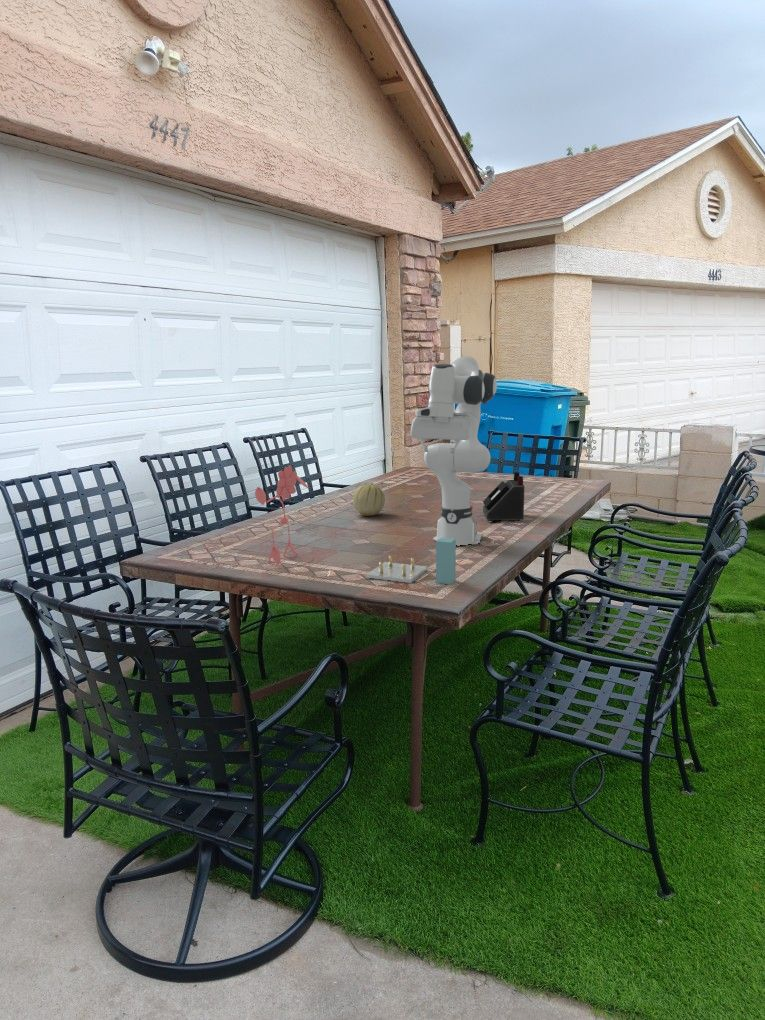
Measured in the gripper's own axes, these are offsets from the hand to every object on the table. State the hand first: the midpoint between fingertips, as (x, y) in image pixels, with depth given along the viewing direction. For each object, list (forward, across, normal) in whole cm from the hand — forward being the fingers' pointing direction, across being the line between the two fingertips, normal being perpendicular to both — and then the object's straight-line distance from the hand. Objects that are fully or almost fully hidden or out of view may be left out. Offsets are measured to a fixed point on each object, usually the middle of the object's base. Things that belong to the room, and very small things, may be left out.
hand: (438, 452), depth 251 cm
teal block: (+41, -2, +16) cm, 44 cm away
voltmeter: (+31, -43, -69) cm, 87 cm away
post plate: (+41, +13, +6) cm, 44 cm away
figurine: (+42, +50, -15) cm, 67 cm away
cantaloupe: (+34, +16, -85) cm, 93 cm away
